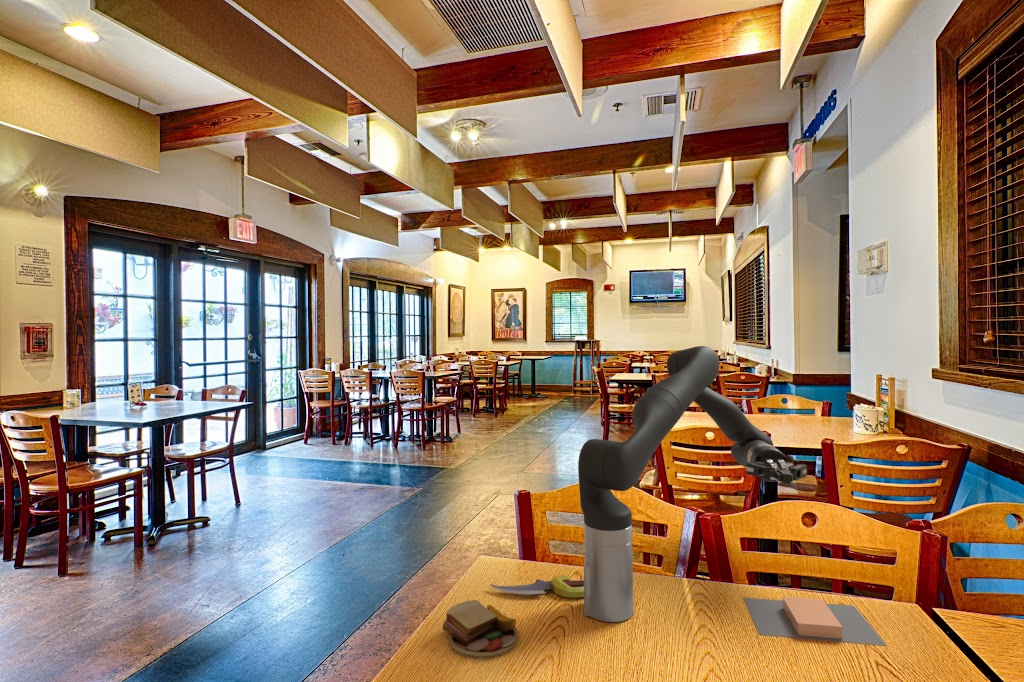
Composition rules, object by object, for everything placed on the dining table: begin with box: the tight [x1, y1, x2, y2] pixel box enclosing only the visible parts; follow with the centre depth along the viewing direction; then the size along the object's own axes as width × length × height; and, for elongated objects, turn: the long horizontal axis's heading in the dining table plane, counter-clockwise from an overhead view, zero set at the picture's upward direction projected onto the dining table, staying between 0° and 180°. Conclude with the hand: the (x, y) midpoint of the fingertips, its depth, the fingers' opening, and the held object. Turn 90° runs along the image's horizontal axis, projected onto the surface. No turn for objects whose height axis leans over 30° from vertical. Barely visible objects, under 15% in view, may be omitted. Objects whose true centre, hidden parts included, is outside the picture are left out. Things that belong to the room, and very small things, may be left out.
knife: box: [489, 575, 584, 599], centre depth 117 cm, size 8×3×25 cm
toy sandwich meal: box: [442, 599, 519, 659], centre depth 99 cm, size 12×14×5 cm
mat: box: [742, 597, 888, 647], centre depth 101 cm, size 20×14×1 cm
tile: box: [781, 596, 843, 639], centre depth 100 cm, size 7×2×10 cm
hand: (787, 479), depth 114 cm, fingers closed
